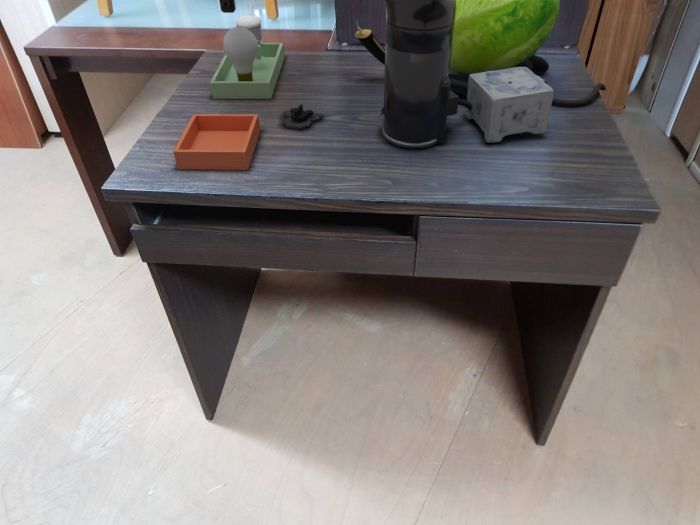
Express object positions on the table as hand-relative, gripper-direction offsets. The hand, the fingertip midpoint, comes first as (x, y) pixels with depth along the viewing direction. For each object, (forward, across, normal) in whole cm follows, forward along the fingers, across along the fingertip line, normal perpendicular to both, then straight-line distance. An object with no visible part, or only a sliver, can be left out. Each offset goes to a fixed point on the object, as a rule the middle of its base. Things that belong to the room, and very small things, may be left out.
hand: (234, 3), depth 89 cm
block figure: (+14, -13, -11) cm, 22 cm away
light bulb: (+14, 0, 0) cm, 14 cm away
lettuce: (+5, -7, -42) cm, 43 cm away
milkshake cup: (+14, +9, 0) cm, 17 cm away
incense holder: (+14, -14, -44) cm, 48 cm away
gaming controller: (+14, +2, -50) cm, 52 cm away
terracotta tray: (+14, -22, 0) cm, 26 cm away
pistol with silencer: (+4, -4, -29) cm, 30 cm away
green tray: (+14, +4, 0) cm, 15 cm away
